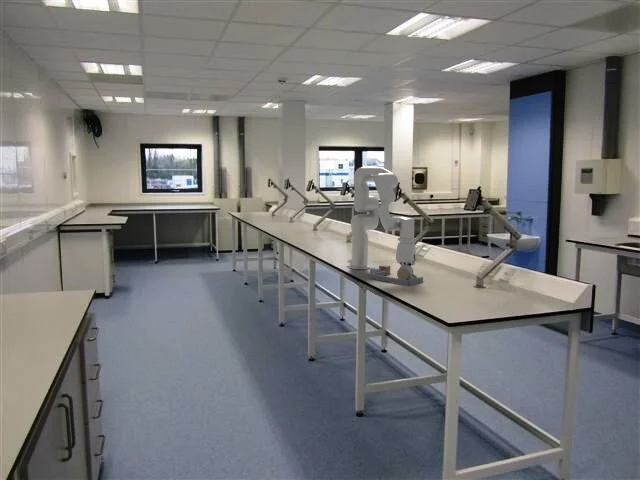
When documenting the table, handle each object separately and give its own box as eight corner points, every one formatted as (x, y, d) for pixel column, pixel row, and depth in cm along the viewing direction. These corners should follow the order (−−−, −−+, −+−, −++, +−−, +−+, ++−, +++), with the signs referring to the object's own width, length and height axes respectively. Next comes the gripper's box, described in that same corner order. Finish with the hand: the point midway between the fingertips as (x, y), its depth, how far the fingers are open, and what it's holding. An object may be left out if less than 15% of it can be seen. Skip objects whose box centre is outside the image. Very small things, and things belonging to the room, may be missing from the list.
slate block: (369, 275, 282) (370, 268, 281) (374, 274, 285) (374, 267, 284) (375, 276, 279) (375, 269, 279) (380, 275, 282) (380, 268, 281)
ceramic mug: (396, 280, 269) (396, 266, 268) (399, 277, 276) (399, 263, 275) (416, 282, 265) (417, 268, 264) (418, 279, 273) (419, 265, 272)
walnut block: (378, 273, 288) (379, 265, 288) (383, 272, 292) (383, 264, 291) (385, 274, 285) (385, 266, 285) (390, 273, 289) (390, 265, 288)
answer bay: (369, 278, 274) (369, 273, 273) (384, 275, 284) (384, 270, 283) (408, 285, 257) (408, 280, 257) (422, 281, 267) (423, 277, 267)
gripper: (391, 240, 277) (390, 273, 279) (415, 242, 267) (413, 277, 269) (398, 239, 282) (397, 272, 284) (422, 241, 272) (421, 275, 275)
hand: (405, 274), depth 277 cm, fingers closed
